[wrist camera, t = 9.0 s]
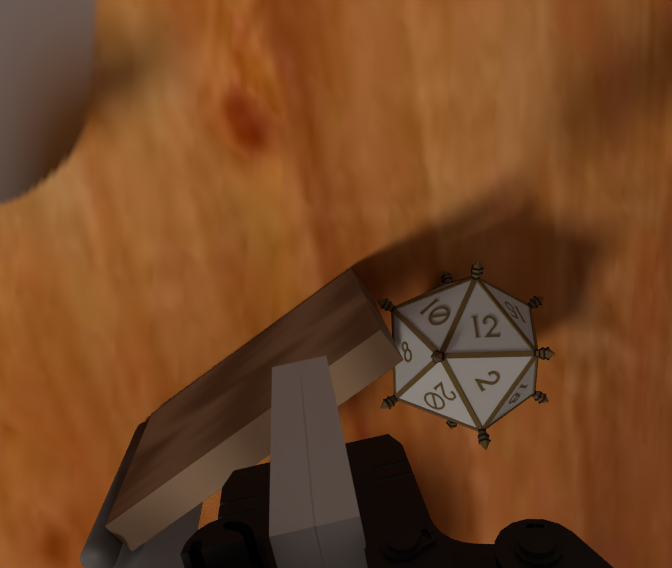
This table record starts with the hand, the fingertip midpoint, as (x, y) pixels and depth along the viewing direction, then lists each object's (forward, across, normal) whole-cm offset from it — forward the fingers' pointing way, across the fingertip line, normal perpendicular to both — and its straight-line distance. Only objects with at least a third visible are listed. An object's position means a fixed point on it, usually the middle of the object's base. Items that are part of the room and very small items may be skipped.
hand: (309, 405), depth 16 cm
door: (+15, +3, +5) cm, 16 cm away
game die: (+16, -7, +5) cm, 18 cm away
